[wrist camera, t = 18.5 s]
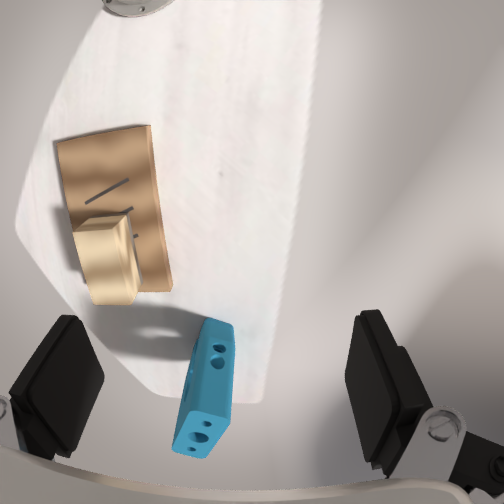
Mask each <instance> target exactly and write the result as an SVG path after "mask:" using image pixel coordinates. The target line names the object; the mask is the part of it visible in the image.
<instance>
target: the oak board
mask: <svg viewBox="0 0 504 504" xmlns="http://www.w3.org/2000/svg"><path fill="white" fill-rule="evenodd" d="M57 150H58V156H59V163H60V169H61V175H62V181H63V186H64V191H65V196H66V201H67V206H68V211H69V215H70V220H71V224H72V228H73V231H75V230H76V229H77V228H78V227H79V226H80V225H82V224H83V223H84V222H85V221H86V220H88V219H89V218H90V217H91V216H97V215H107V214H118V213H129V217H130V222H131V228H132V233H133V238H134V243H135V247H136V252H137V257H138V261H139V266H140V270H141V275H142V279H143V284H142V286H141V287H140V289H139V291H138V292H170V291H171V289H172V286H173V282H172V276H171V271H170V265H169V259H168V254H167V248H166V242H165V235H164V229H163V223H162V216H161V209H160V202H159V195H158V187H157V179H156V171H155V163H154V154H153V144H152V135H151V125H149V126H142V127H135V128H129V129H123V130H117V131H111V132H106V133H100V134H95V135H90V136H85V137H80V138H76V139H71V140H67V141H63V142H59V143H57Z"/></svg>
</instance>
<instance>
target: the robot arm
mask: <svg viewBox="0 0 504 504" xmlns="http://www.w3.org/2000/svg"><path fill="white" fill-rule="evenodd" d="M102 1H103V3H104V4H105V6H106V7H108V8H109V9H110V10H111V11H113V12H115V13H117V14H119V15H122V16H128V17H139V16H145V15H148V14H151V13H154V12H157V11H159V10H161V9H163V8H164V7H166V6H167V5H169V4H170V3H172V2H173V1H174V0H102ZM143 9H145V10H144V11H143V12H142V10H143ZM103 382H104V372H103V370H102V368H101V365H100V363H99V361H98V359H97V356H96V354H95V352H94V349H93V347H92V345H91V342H90V340H89V337H88V335H87V332H86V330H85V328H84V325H83V323H82V321H81V320H79V318H78V317H77V316H75V315H61V316H60V317H59V318H58V320H57V321H56V322H55V324H54V325H53V327H52V328H51V329H50V331H49V332H48V334H47V335H46V336H45V338H44V339H43V341H42V342H41V343H40V345H39V346H38V348H37V349H36V351H35V352H34V354H33V355H32V357H31V358H30V360H29V361H28V363H27V364H26V366H25V367H24V369H23V370H22V372H21V373H20V375H19V377H18V378H17V380H16V381H15V383H14V384H13V386H12V387H11V389H10V391H9V394H10V395H11V399H10V400H9V399H8V398H7V397H5V396H2V395H0V504H504V446H501V445H499V444H496V443H494V442H491V441H488V440H486V439H484V438H482V437H479V436H476V435H474V434H472V433H469V432H467V431H466V423H465V420H464V418H463V417H462V415H461V414H460V413H459V412H458V411H457V410H455V409H453V408H451V407H447V406H436V407H433V405H432V403H431V401H430V398H429V396H428V394H427V392H426V390H425V388H424V385H423V383H422V381H421V379H420V377H419V375H418V373H417V371H416V369H415V367H414V365H413V363H412V361H411V359H410V357H409V355H408V353H407V351H406V349H405V348H404V347H403V346H397V343H396V341H395V340H394V337H393V335H392V333H391V331H390V330H389V327H388V325H387V324H386V322H385V320H384V318H383V316H382V314H381V312H380V310H378V309H376V310H364V311H361V313H360V315H358V316H356V317H355V321H354V327H353V333H352V339H351V344H350V349H349V355H348V360H347V365H346V370H345V383H346V387H347V390H348V394H349V398H350V402H351V406H352V409H353V413H354V417H355V421H356V425H357V429H358V433H359V437H360V442H361V446H362V450H363V454H364V458H365V461H366V462H371V466H372V470H374V469H380V468H382V470H383V474H384V475H386V477H385V479H381V480H373V481H366V482H358V483H350V484H342V485H334V486H325V487H315V488H302V489H287V490H261V491H236V490H235V491H233V490H210V489H194V488H184V487H174V486H165V485H158V484H150V483H144V482H138V481H132V480H127V479H121V478H116V477H111V476H107V475H102V474H98V473H93V472H89V471H85V470H81V469H77V468H74V467H70V466H67V465H63V464H60V463H56V462H55V459H54V455H55V453H56V454H57V455H59V456H62V457H66V458H70V456H71V453H72V452H73V451H75V450H76V448H77V445H78V443H79V440H80V437H81V435H82V432H83V430H84V427H85V425H86V422H87V420H88V417H89V415H90V412H91V410H92V408H93V406H94V403H95V401H96V399H97V396H98V393H99V391H100V389H101V387H102V385H103Z"/></svg>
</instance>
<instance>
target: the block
mask: <svg viewBox="0 0 504 504" xmlns="http://www.w3.org/2000/svg"><path fill="white" fill-rule="evenodd" d="M234 359H235V340H234V329H233V326H232V325H231V324H228V323H225V322H222V321H219V320H216V319H213V318H207V319H205V321H204V323H203V326H202V328H201V331H200V335H199V340H198V339H197V340H196V343H195V345H194V348H193V352H192V356H191V360H190V364H189V368H188V372H187V376H186V380H185V384H184V389H183V394H182V399H181V404H180V408H179V414H178V418H177V423H176V428H175V434H174V439H173V444H172V450H173V451H174V452H177V453H180V454H184V455H188V456H191V457H196V458H206V457H207V456H208V454H209V453H210V451H211V450H212V449H213V447H214V446H215V444H216V443H217V441H218V440H219V439H220V437H221V436H222V434H223V433H224V432H225V430H226V429H227V427H228V426H229V424H230V417H231V404H232V389H233V374H234Z"/></svg>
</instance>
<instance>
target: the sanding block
mask: <svg viewBox="0 0 504 504" xmlns="http://www.w3.org/2000/svg"><path fill="white" fill-rule="evenodd" d="M72 233H73V237H74V241H75V245H76V248H77V252H78V256H79V259H80V263H81V266H82V270H83V273H84V276H85V279H86V283H87V286H88V289H89V292H90V295H91V298H92V301H93V304H94V305H131V304H132V303H133V301H134V299H135V297H136V295H137V293H138V291H139V289H140V287H141V286H142V284H143V279H142V275H141V270H140V266H139V261H138V257H137V252H136V247H135V243H134V238H133V233H132V228H131V222H130V217H129V213H118V214H107V215H97V216H91V217H90V218H89V219H88V220H86V221H85V222H84V223H83V224H82V225H80V226H79V227H78V228H77V229H76V230H75V231H73V232H72Z"/></svg>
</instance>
